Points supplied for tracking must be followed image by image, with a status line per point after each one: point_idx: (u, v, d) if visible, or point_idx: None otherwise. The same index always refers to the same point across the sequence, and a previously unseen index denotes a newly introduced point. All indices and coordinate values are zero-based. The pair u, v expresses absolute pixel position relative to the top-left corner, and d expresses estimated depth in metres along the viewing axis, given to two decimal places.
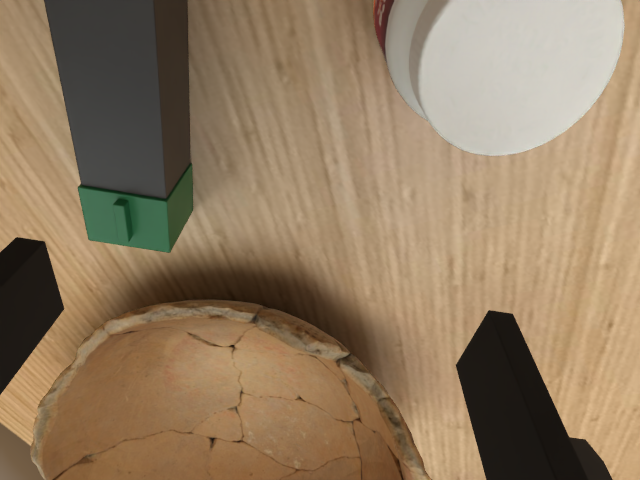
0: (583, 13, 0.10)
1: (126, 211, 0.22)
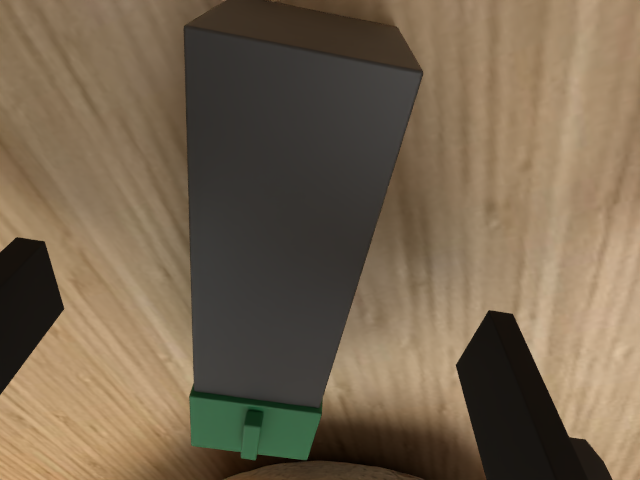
0: None
1: None
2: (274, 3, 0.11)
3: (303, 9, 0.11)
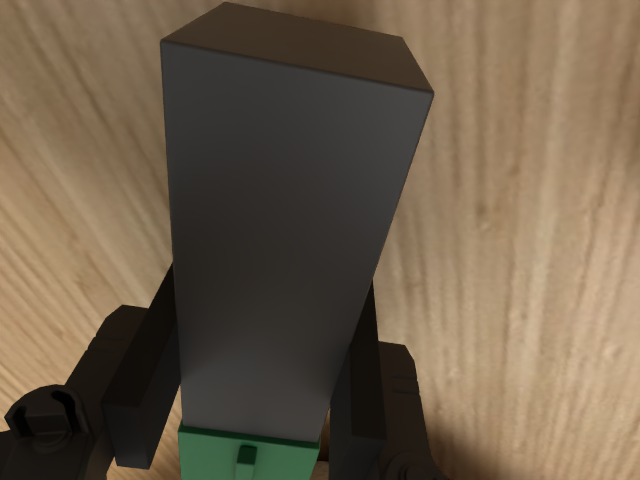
0: None
1: None
2: (267, 11, 0.10)
3: (299, 18, 0.10)
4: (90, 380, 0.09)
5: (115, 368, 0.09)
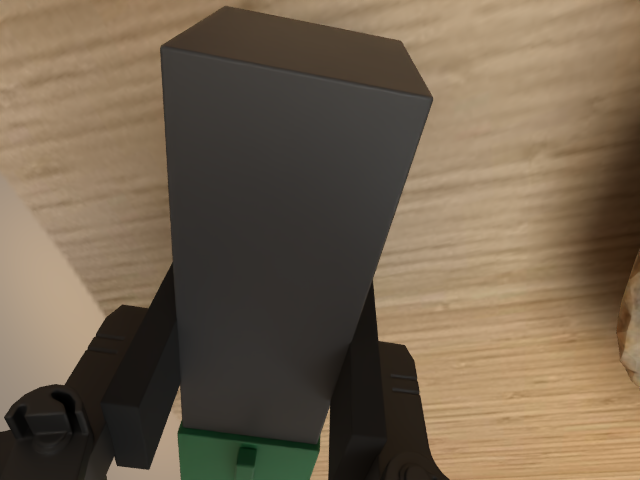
0: None
1: None
2: (267, 15, 0.10)
3: (299, 22, 0.10)
4: (90, 380, 0.09)
5: (115, 368, 0.09)
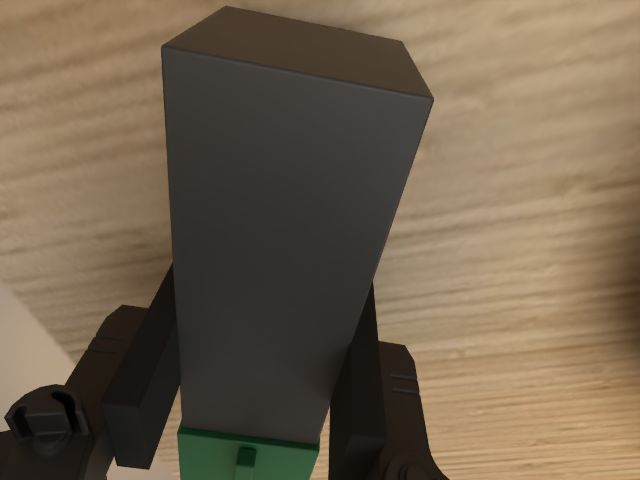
0: None
1: None
2: (267, 15, 0.10)
3: (299, 22, 0.10)
4: (90, 380, 0.09)
5: (115, 368, 0.09)
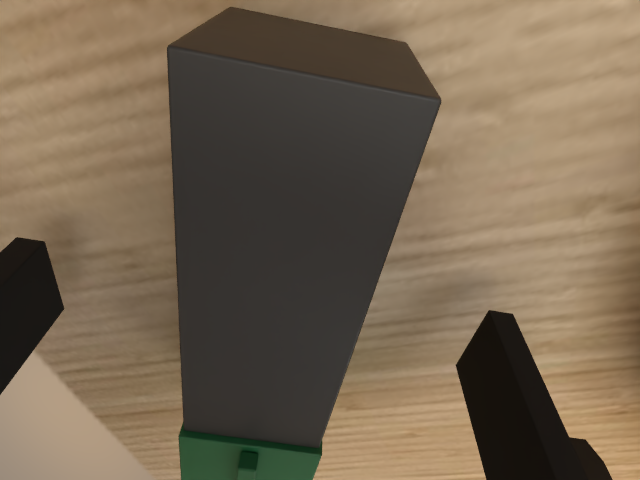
0: None
1: None
2: (272, 16, 0.10)
3: (304, 23, 0.10)
4: None
5: None
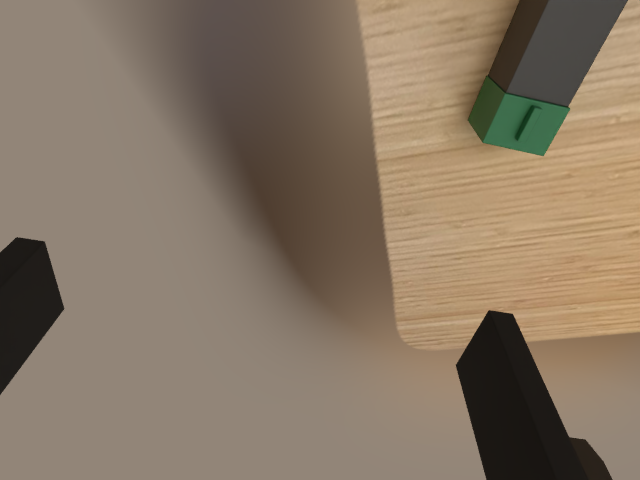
0: None
1: (538, 115, 0.27)
2: None
3: None
4: None
5: None
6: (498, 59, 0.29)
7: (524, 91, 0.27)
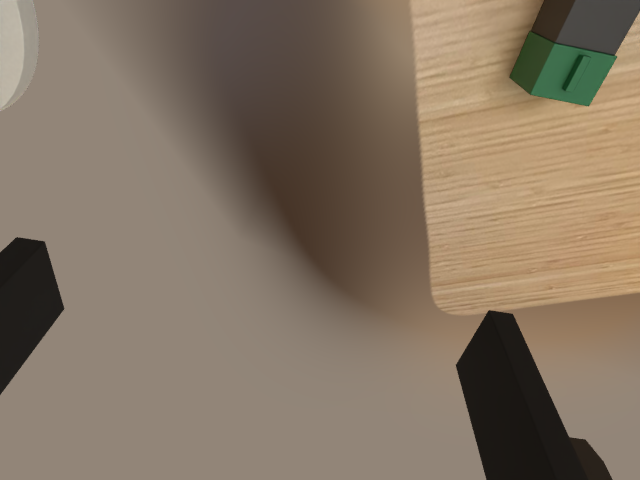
0: None
1: (587, 63, 0.28)
2: None
3: None
4: None
5: None
6: (543, 13, 0.30)
7: (573, 40, 0.28)
